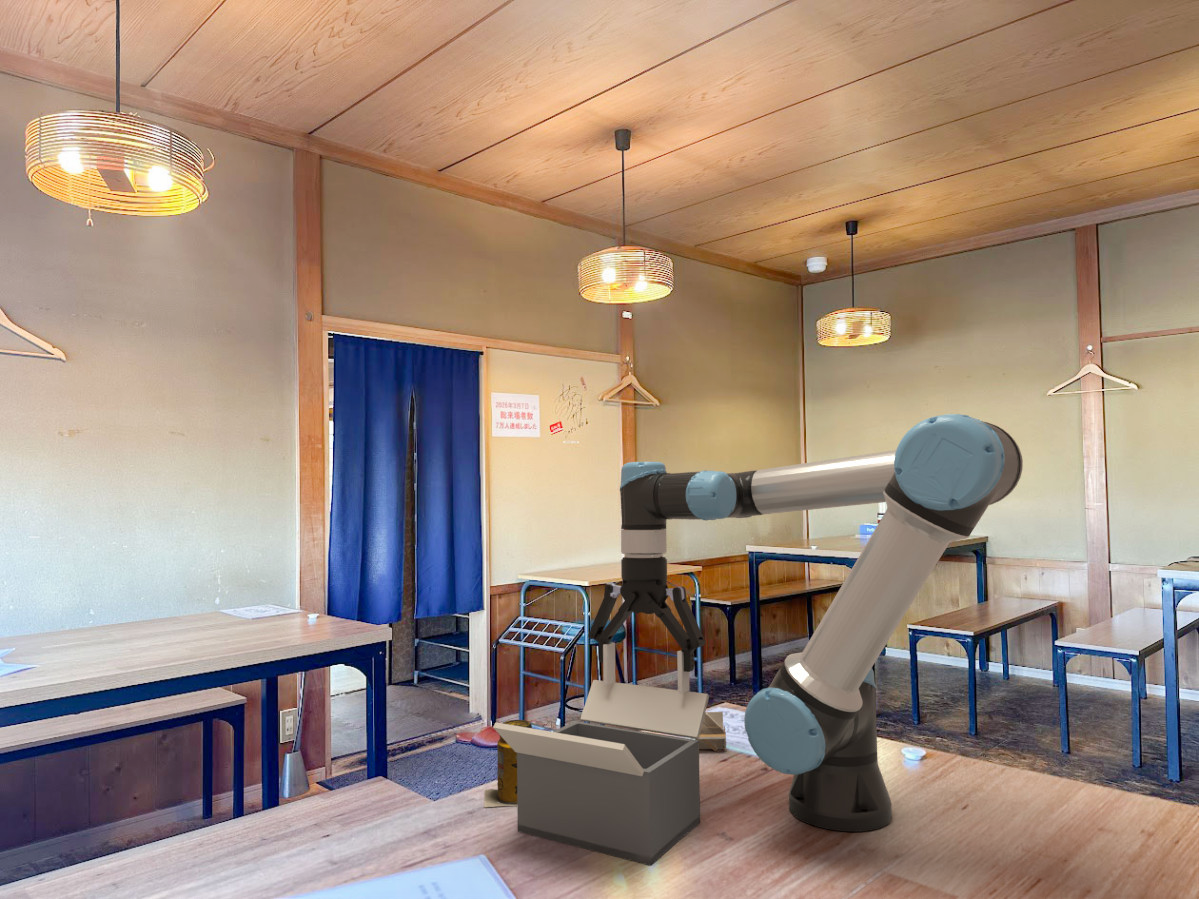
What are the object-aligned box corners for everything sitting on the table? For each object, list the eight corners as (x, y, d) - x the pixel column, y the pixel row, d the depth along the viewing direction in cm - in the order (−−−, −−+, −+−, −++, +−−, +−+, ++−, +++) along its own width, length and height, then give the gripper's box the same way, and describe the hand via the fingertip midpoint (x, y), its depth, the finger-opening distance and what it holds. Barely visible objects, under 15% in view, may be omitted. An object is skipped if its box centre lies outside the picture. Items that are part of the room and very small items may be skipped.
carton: (700, 822, 117) (698, 740, 118) (650, 865, 103) (649, 772, 104) (576, 795, 128) (576, 721, 129) (517, 831, 115) (517, 747, 116)
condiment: (537, 804, 125) (537, 728, 126) (484, 808, 124) (484, 730, 125) (535, 788, 132) (534, 716, 133) (484, 791, 131) (484, 718, 132)
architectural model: (727, 756, 149) (726, 716, 149) (691, 757, 149) (690, 717, 149) (724, 750, 152) (723, 711, 153) (689, 751, 152) (688, 712, 153)
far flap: (696, 737, 119) (698, 739, 119) (707, 693, 123) (709, 696, 123) (580, 718, 129) (582, 721, 130) (593, 679, 134) (595, 681, 134)
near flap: (624, 744, 100) (622, 750, 100) (644, 770, 104) (642, 776, 104) (495, 722, 111) (493, 727, 110) (517, 747, 115) (515, 752, 114)
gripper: (723, 556, 126) (726, 691, 124) (591, 553, 138) (592, 675, 137) (705, 558, 119) (707, 701, 118) (568, 555, 132) (568, 684, 130)
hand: (645, 687), depth 127 cm, fingers open, 13 cm apart
